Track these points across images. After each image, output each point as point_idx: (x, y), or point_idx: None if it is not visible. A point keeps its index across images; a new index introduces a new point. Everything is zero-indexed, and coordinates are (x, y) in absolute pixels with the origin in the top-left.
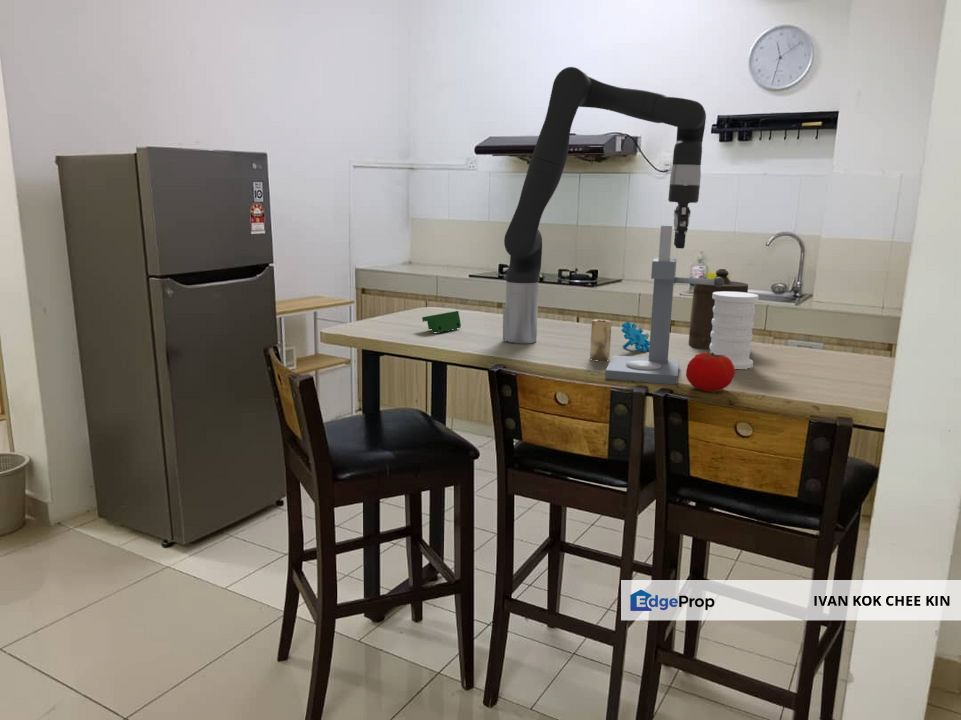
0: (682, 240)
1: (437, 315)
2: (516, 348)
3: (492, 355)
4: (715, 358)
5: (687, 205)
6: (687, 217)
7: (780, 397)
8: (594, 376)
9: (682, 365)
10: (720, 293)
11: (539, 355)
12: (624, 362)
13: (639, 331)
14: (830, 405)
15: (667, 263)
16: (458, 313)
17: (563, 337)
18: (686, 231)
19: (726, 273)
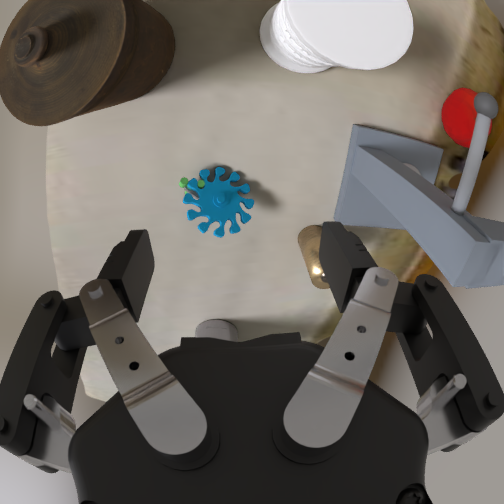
0: (366, 255)
1: None
2: (264, 328)
3: (309, 337)
4: (490, 124)
5: (422, 476)
6: (476, 347)
7: (465, 43)
8: (403, 236)
9: (331, 114)
10: (353, 46)
11: (300, 303)
12: (381, 209)
13: (199, 199)
14: (476, 11)
15: None
16: None
17: (164, 296)
18: (395, 275)
19: (43, 28)
